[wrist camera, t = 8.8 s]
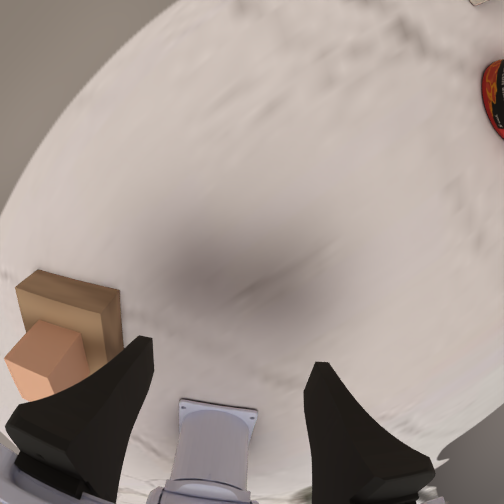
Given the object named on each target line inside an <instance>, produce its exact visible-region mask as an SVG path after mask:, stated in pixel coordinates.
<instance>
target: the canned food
mask: <svg viewBox="0 0 504 504" xmlns="http://www.w3.org/2000/svg"><path fill="white" fill-rule="evenodd" d="M482 93H483V100H484V104H485V108H486V111H487V114H488V116H489V119H490V121H491V123H492V125H493V127H494V128H495V130H496V131H497V132H498V134H499V135H500V136H501V137H502V138H503V139H504V59H502V60H498V61H495V62H494V63H492V64H491V65H490V66H489V67H488V68H487V69H486V71H485V73H484V76H483V81H482Z"/></svg>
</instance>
